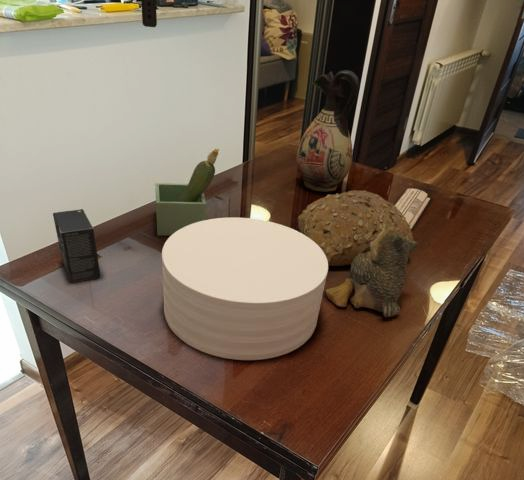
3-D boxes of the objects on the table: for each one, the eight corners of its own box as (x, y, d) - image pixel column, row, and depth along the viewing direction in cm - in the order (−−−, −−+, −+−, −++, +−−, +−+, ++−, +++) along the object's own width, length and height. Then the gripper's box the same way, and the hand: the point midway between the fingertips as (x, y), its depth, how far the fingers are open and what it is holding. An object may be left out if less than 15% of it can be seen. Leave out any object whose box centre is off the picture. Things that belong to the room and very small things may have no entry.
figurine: (348, 271, 103) (364, 204, 94) (412, 296, 98) (437, 229, 89) (318, 300, 94) (333, 229, 84) (388, 330, 89) (412, 258, 79)
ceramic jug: (281, 184, 136) (297, 63, 117) (311, 171, 146) (329, 58, 127) (333, 204, 129) (358, 79, 110) (360, 189, 139) (388, 72, 120)
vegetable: (172, 213, 113) (217, 140, 102) (186, 226, 113) (232, 154, 102) (162, 216, 109) (207, 141, 99) (176, 229, 109) (223, 155, 99)
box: (62, 262, 95) (52, 212, 88) (91, 258, 97) (84, 208, 90) (70, 283, 90) (60, 231, 83) (101, 278, 92) (94, 227, 85)
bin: (157, 235, 107) (155, 202, 102) (156, 214, 115) (155, 182, 110) (205, 235, 109) (206, 203, 104) (201, 214, 117) (201, 184, 112)
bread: (370, 221, 123) (383, 175, 116) (417, 264, 109) (435, 214, 101) (283, 228, 116) (290, 179, 108) (320, 275, 101) (332, 222, 93)
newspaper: (406, 192, 141) (408, 186, 140) (430, 199, 139) (432, 193, 138) (384, 221, 124) (386, 215, 123) (411, 229, 122) (413, 222, 121)
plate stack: (272, 384, 75) (281, 326, 68) (131, 319, 84) (125, 261, 76) (339, 301, 94) (352, 248, 87) (219, 255, 103) (221, 204, 96)
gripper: (118, -115, 73) (127, 14, 84) (113, -121, 63) (124, 27, 73) (168, -108, 75) (170, 18, 85) (172, -113, 64) (174, 31, 75)
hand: (149, 22), depth 79 cm, fingers open, 8 cm apart
